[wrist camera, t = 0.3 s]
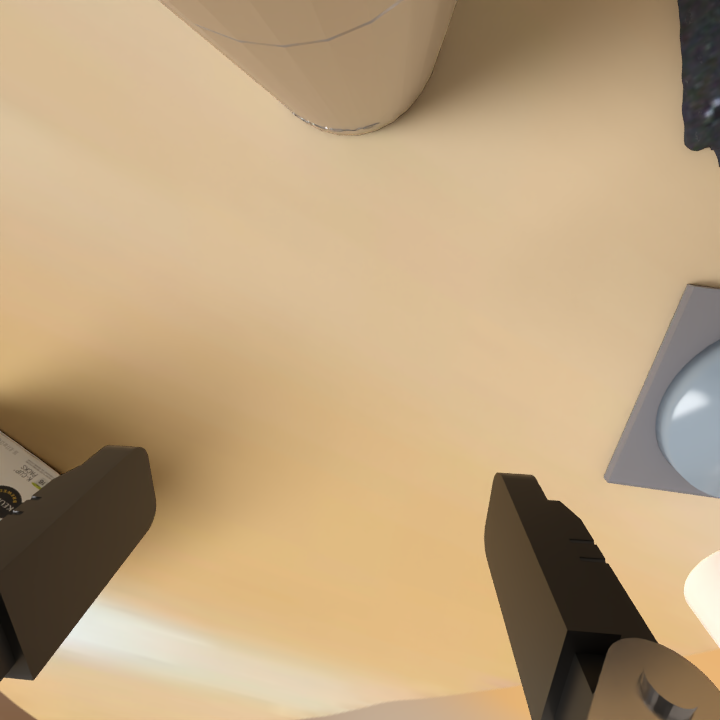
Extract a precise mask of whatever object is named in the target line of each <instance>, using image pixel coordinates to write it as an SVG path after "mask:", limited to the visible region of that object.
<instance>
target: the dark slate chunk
mask: <svg viewBox="0 0 720 720" xmlns="http://www.w3.org/2000/svg"><path fill="white" fill-rule="evenodd" d="M678 7H679V18H680V43H681V53H682V82H683V104H682V115H683V120H684V143H685V145H686V146H687V147H688V148H689V149H690V150H693V151H699V150H701V149H704V148H706V147H711V150H714V151H715V153H716V156H717V158H718V162H719V167H720V0H678Z"/></svg>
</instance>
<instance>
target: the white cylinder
mask: <svg viewBox="0 0 720 720" xmlns="http://www.w3.org/2000/svg"><path fill="white" fill-rule="evenodd" d="M684 595H685V599H686V602H687V603H688V605H689V606H690V608H691V609H692V610H693V612H694V613H695V615H696V616H697V617H698V619H699V620H700V621H701V623H702V624H703V626H704V627H705V628H706V630H707V631H708V633H709V634H710V635H711V637H712V638H713V639H714V641H715V642H716V644H717V645H718V646H719V648H720V550H719V551H716V552H714V553H713V554H711V555H710V556H708V557H707V558H705V559H704V560H702V561H701V562H700V563H699V564H698V565H697V566H696V567H695V568H694V569H693V570H692V571H691V572H690V574H689V576H688V578H687V580H686V582H685V587H684Z"/></svg>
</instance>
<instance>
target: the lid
mask: <svg viewBox="0 0 720 720" xmlns="http://www.w3.org/2000/svg"><path fill="white" fill-rule="evenodd" d="M655 431H656V439H657V443H658V446H659V449H660V451H661V453H662V455H663V456H664V458H665V459H666V460H667V462H668V463H669V464H670V465H671V466H672V467H673V468H674V469H675V470H676V471H677V472H678V473H679V474H680V475H681V476H682V477H683V478H685V479H686V480H687V481H688V482H689V483H690V484H691V485H693V486H694V487H695V488H697V489H698V490H700V491H702V492H704V493H707V494H709V495H712V496H715V497H718V498H720V339H719V340H718V341H716V342H714V343H713V344H711V345H709V346H708V347H706V348H705V349H704V350H702V351H701V352H700V353H698V354H697V355H696V356H695V357H694V358H692V359H691V360H690V361H689V362H688V363H687V364H686V365H685V366H684V367H683V368H682V369H681V370H680V372H679V373H678V374H677V375H676V376H675V378H674V379H673V380H672V382H671V383H670V385H669V386H668V388H667V390H666V391H665V393H664V395H663V397H662V400H661V402H660V405H659V407H658V412H657V416H656V425H655Z"/></svg>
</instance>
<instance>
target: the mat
mask: <svg viewBox="0 0 720 720" xmlns="http://www.w3.org/2000/svg"><path fill="white" fill-rule="evenodd" d="M719 339H720V288H712V287H704V286H697V285H689V284H687V287H686V289H685V291H684V294H683V296H682V298H681V301H680V303H679V305H678V307H677V310H676V312H675V314H674V317H673V319H672V321H671V323H670V326H669V328H668V330H667V333H666V335H665V337H664V340H663V342H662V344H661V346H660V349H659V351H658V353H657V356H656V358H655V360H654V362H653V365H652V367H651V369H650V372H649V374H648V376H647V379H646V381H645V383H644V385H643V388H642V390H641V392H640V395H639V397H638V399H637V402H636V404H635V406H634V408H633V411H632V413H631V415H630V418H629V420H628V422H627V424H626V427H625V429H624V431H623V434H622V436H621V438H620V441H619V443H618V445H617V447H616V450H615V452H614V454H613V457H612V459H611V461H610V463H609V466H608V468H607V470H606V473H605V475H604V478H605V480H606V481H607V482H608V483H614V484H621V485H628V486H635V487H642V488H650V489H657V490H664V491H671V492H678V493H685V494H692V495H699V496H706V497H713V498H718V497H715V496H712V495H709V494H707V493H704V492H702V491H700V490H698V489H697V488H695V487H694V486H693V485H691V484H690V483H689V482H688V481H687V480H686V479H685V478H683V477H682V476H681V475H680V474H679V473H678V472H677V471H676V470H675V469H674V468H673V467H672V466H671V465H670V464H669V463H668V462H667V460H666V459H665V458H664V456H663V455H662V453H661V451H660V449H659V446H658V443H657V439H656V431H655V425H656V416H657V412H658V407H659V405H660V402H661V400H662V397H663V395H664V393H665V391H666V390H667V388H668V386H669V385H670V383H671V382H672V380H673V379H674V378H675V376H676V375H677V374H678V373H679V372H680V370H681V369H682V368H683V367H684V366H685V365H686V364H687V363H688V362H689V361H690V360H691V359H692V358H694V357H695V356H696V355H697V354H698V353H700V352H701V351H702V350H704V349H705V348H706V347H708V346H709V345H711V344H713V343H714V342H716V341H718V340H719Z"/></svg>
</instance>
